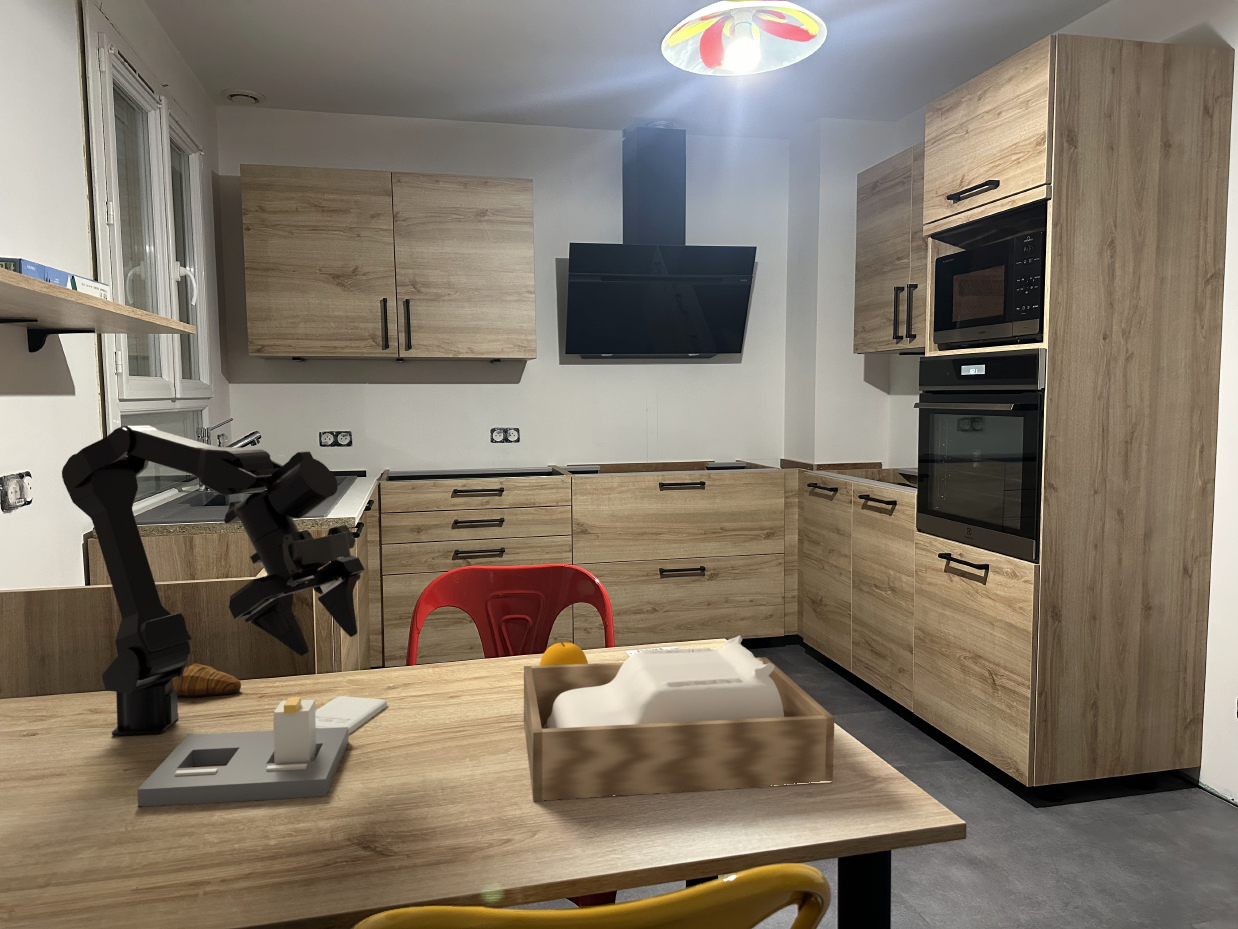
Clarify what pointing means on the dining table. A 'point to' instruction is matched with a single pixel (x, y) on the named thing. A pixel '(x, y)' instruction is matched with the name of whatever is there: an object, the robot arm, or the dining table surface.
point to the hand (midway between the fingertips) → (330, 644)
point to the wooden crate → (670, 744)
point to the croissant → (204, 682)
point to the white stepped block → (675, 690)
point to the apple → (563, 655)
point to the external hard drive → (348, 712)
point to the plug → (295, 731)
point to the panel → (241, 769)
